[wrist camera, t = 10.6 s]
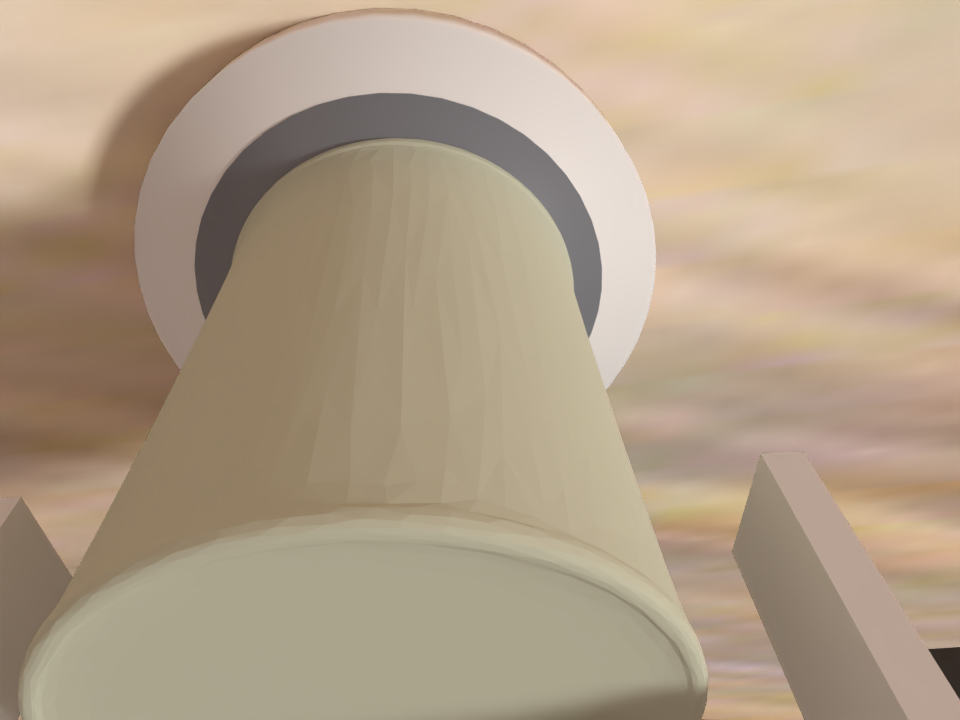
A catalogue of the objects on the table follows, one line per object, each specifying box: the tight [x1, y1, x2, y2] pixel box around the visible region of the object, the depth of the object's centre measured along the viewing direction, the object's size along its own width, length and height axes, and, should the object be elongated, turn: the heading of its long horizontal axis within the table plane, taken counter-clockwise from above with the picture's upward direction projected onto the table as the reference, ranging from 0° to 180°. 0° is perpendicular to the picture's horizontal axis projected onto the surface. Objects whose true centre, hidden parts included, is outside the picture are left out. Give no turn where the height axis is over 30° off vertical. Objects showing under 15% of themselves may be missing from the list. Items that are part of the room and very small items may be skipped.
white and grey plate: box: [135, 8, 656, 389], centre depth 19 cm, size 14×14×2 cm
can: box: [18, 138, 708, 720], centre depth 14 cm, size 9×9×12 cm
